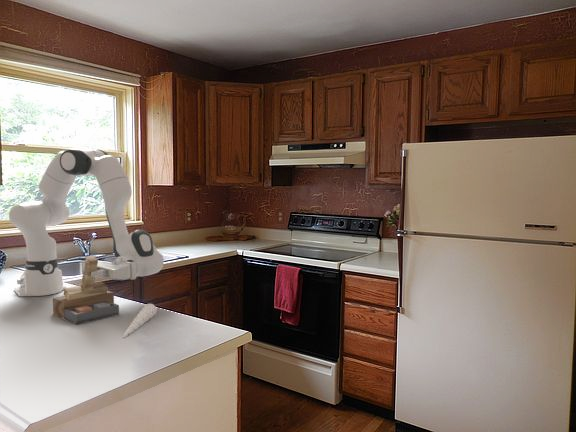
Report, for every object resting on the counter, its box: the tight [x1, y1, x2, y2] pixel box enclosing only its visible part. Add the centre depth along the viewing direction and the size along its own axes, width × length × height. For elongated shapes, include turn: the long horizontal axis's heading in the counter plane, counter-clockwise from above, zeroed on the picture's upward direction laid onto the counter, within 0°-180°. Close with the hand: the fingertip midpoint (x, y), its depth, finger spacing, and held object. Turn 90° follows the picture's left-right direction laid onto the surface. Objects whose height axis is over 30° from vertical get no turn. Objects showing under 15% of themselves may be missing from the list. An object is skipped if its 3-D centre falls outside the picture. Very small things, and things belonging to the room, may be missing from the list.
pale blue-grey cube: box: [94, 302, 110, 310], centre depth 156 cm, size 4×4×3 cm
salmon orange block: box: [75, 306, 92, 313], centre depth 151 cm, size 4×4×3 cm
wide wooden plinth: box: [52, 290, 115, 320], centre depth 161 cm, size 9×18×6 cm, turn 140°
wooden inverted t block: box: [62, 255, 109, 300], centre depth 158 cm, size 4×14×14 cm, turn 140°
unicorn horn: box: [122, 303, 157, 339], centre depth 145 cm, size 5×24×5 cm, turn 174°
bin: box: [64, 301, 120, 326], centre depth 154 cm, size 9×15×4 cm, turn 140°
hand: (87, 273), depth 157 cm, fingers closed on wooden inverted t block, 4 cm apart
